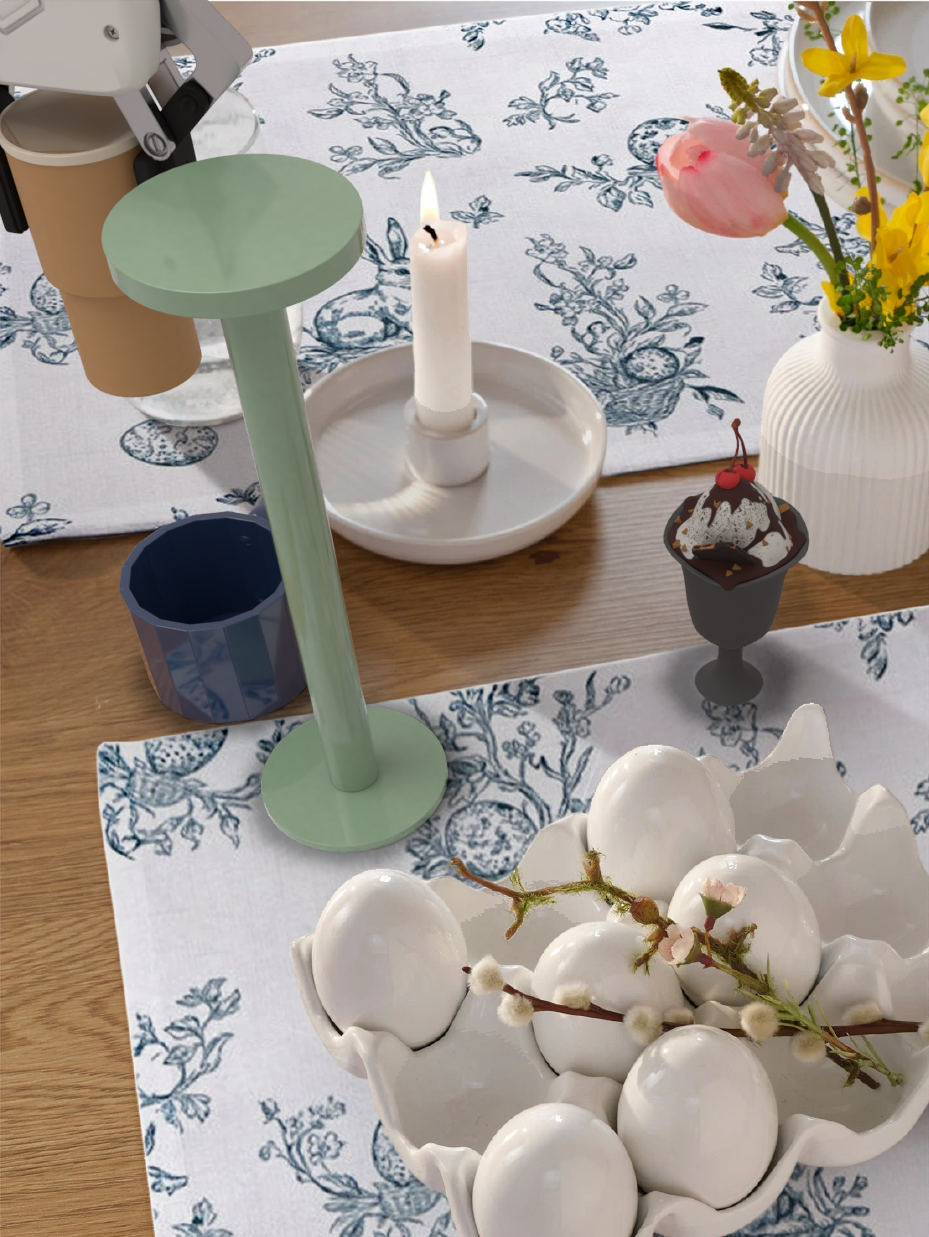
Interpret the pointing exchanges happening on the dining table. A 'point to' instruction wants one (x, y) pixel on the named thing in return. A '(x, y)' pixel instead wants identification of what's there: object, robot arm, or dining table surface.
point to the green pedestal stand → (284, 461)
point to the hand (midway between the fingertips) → (105, 222)
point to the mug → (213, 617)
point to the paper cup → (91, 237)
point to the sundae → (734, 570)
